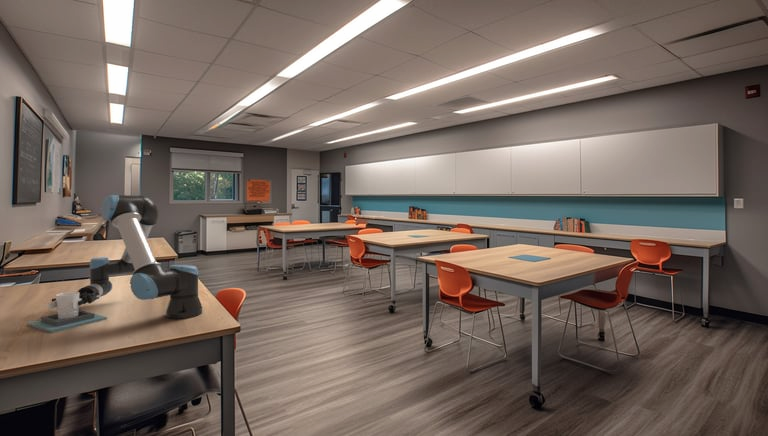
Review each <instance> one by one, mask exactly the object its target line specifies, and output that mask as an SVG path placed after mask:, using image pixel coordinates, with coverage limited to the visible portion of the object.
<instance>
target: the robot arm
mask: <svg viewBox="0 0 768 436" xmlns="http://www.w3.org/2000/svg"><path fill="white" fill-rule="evenodd" d="M159 212H160V211H159V208H158V205H157V204H156V202H155V201H154V200H153V199H152V198H150V197H149V196H145V195H129V194H128V195H125V194H124V195H123V194H122V195H119V194H112V195H111V194H110V195H107V196H106V197H105V198H104V199H103V201H102V207H101V215H102V219H103V220H104V221H107V222H108V221H109V222H111V225H112V226H113V227H114V228H117V229H118V231H119V234H120V236H121V239H122V242H123V243H124V246H125V248H124V251H123V253H122V255H121V258H120V259H114V260H113V259H112V260H110V259H109V257H106V256H105V257H104V256H102V257H93V258H92V259H90V261H89V262H90V263H89V276H90V278H89V279H90V280H89V284H88V285H86V286H82V287H81V288H79V289H78V291H77V292H79V293H80V294H79V299H78V300H75V301H73V302H71V308H72V309H73V308H76V307H78V306H79V307H80V306H81V305H86V304H92V303H94V302H95V301H97V300H98V299H100V298H101V297H103V296H105V295H107V294H109V293H110V292H112V289H113V283H112V282H111V281H110V276H114V275H122V274H131V273H132V276H131V277H130V281H129V284H130V290H131V292H132V294H133V295H134V297H135V298H137V299H139V300H141V301H147V300H154V299H157V298H162V297H167V296H169V300H168V301H169V302H168V304H167V308H166V310H165V317H166V318H167V319H171V320H172V319H174V320H175V319H176V320H177V319H180V320H181V319H187V318H188V317H189V318H193V317H192V316H194V317H196V315H197V316H199V315H198V314H200V313H201V314H202V313H203V306H202V303H201V301H200V297H199V270H198V269H199V268H198V267H197V266H195V265H189V264H171V265H170V266H169V268H168V269H165V268H164V265H163V264H162V263H160V262H157V259H156V257H155V255H154V253H153V251H152V248H151V246H150V244H149V241H148V238H149V235H150V233H151V230H152V228H153V226H155V225H156V224H157V222H158V219H159V215H160V213H159ZM47 305H48V310H53V309H56V308H57V306H56V297H55V298H52V299H51V302H49V303H48V304H47ZM201 314H200V315H201Z"/></svg>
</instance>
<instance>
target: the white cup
mask: <svg viewBox="0 0 768 436" xmlns="http://www.w3.org/2000/svg"><path fill="white" fill-rule="evenodd" d="M79 294H80V293H79V292H78V291H68V292H67V291H66V292H62V293H56V294H55V298H56V306H57V307H56V312H57V314H58V318H59V319H67V318H73V317H76V316H78V310H80V308H79V307H80V306H78V307H76V308H73V309H72V308H71V302H73V301H75V300H78V299H79Z"/></svg>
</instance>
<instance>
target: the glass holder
mask: <svg viewBox="0 0 768 436" xmlns="http://www.w3.org/2000/svg"><path fill="white" fill-rule="evenodd" d="M106 320H108V317H107V316H104V315H100V314H96V313H94V312H89V311H87V310H82V309H81V310H80V309H78V316H76V317H73V318H67V319H59V318H58V313H55V314H49V315H46V316H41V317H40V320H34V321H31V322H27V323H26V326H28V325H29V326H28V327H31V326H32V327H31V328H34V327H35V329H37V328H38V329H37V330H41V331H45V332H48V333H51V334H52V333H56V332H61V331H64V330H68V329H73V328H76V327H77V328H78V327H81V326H84V325H89V324H93V323H97V322H101V321H106Z"/></svg>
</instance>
